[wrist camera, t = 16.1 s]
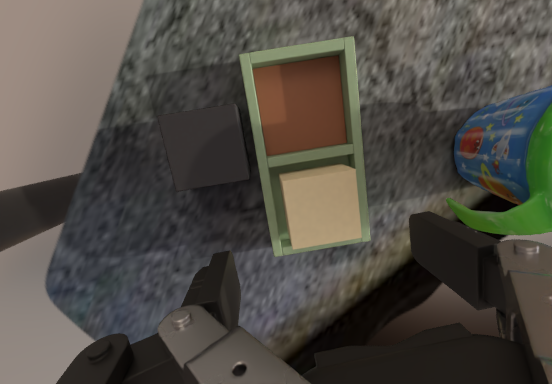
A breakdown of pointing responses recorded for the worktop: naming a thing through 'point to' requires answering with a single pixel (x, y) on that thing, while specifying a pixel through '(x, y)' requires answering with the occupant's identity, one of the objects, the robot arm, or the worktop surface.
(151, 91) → the worktop surface
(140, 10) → the worktop surface
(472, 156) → the snack cup
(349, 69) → the frame
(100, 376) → the robot arm
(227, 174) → the dark gray block
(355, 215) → the foam pad
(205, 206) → the worktop surface
